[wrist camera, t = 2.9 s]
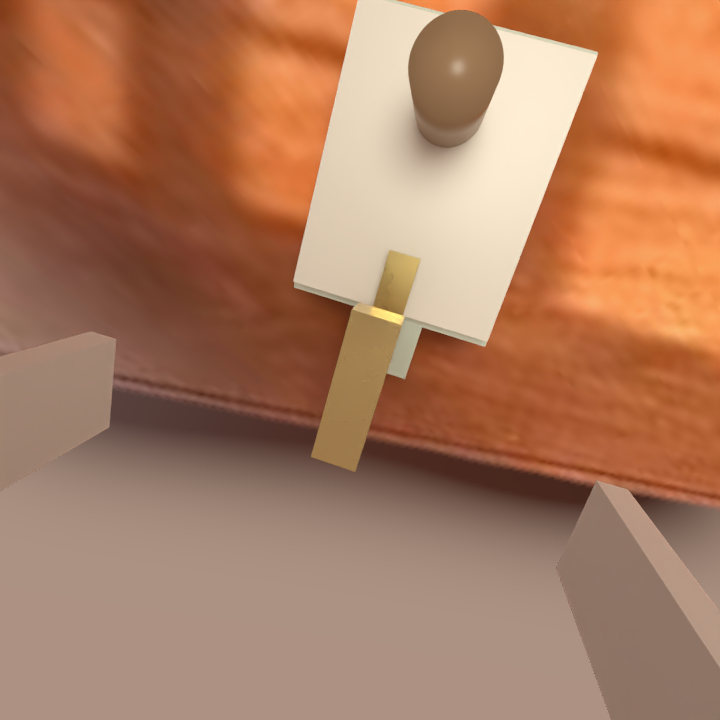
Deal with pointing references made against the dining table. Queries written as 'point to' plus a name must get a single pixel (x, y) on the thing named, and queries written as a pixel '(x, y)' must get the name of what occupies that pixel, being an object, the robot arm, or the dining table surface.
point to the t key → (364, 365)
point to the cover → (437, 159)
